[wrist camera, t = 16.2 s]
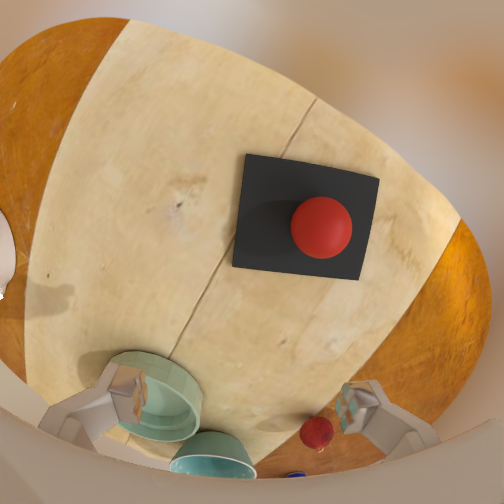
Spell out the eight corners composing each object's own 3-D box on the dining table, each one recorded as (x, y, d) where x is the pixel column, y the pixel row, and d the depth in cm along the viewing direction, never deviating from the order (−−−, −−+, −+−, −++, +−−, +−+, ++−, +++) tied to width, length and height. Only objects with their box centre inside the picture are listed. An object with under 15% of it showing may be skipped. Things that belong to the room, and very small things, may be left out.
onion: (316, 403, 40) (325, 438, 33) (334, 414, 42) (345, 447, 34) (290, 419, 41) (296, 454, 34) (310, 429, 43) (317, 462, 35)
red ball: (278, 247, 31) (300, 265, 25) (286, 190, 29) (312, 194, 23) (328, 251, 32) (357, 268, 26) (337, 198, 31) (369, 205, 25)
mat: (232, 264, 33) (232, 266, 32) (246, 154, 29) (246, 153, 28) (356, 278, 34) (358, 280, 33) (376, 178, 30) (379, 178, 29)
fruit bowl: (116, 407, 41) (107, 427, 35) (99, 339, 36) (84, 359, 31) (202, 426, 42) (199, 448, 36) (204, 359, 37) (200, 385, 32)
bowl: (205, 409, 40) (200, 446, 32) (272, 440, 43) (275, 474, 35) (161, 438, 43) (154, 469, 35) (222, 465, 47) (221, 494, 39)
